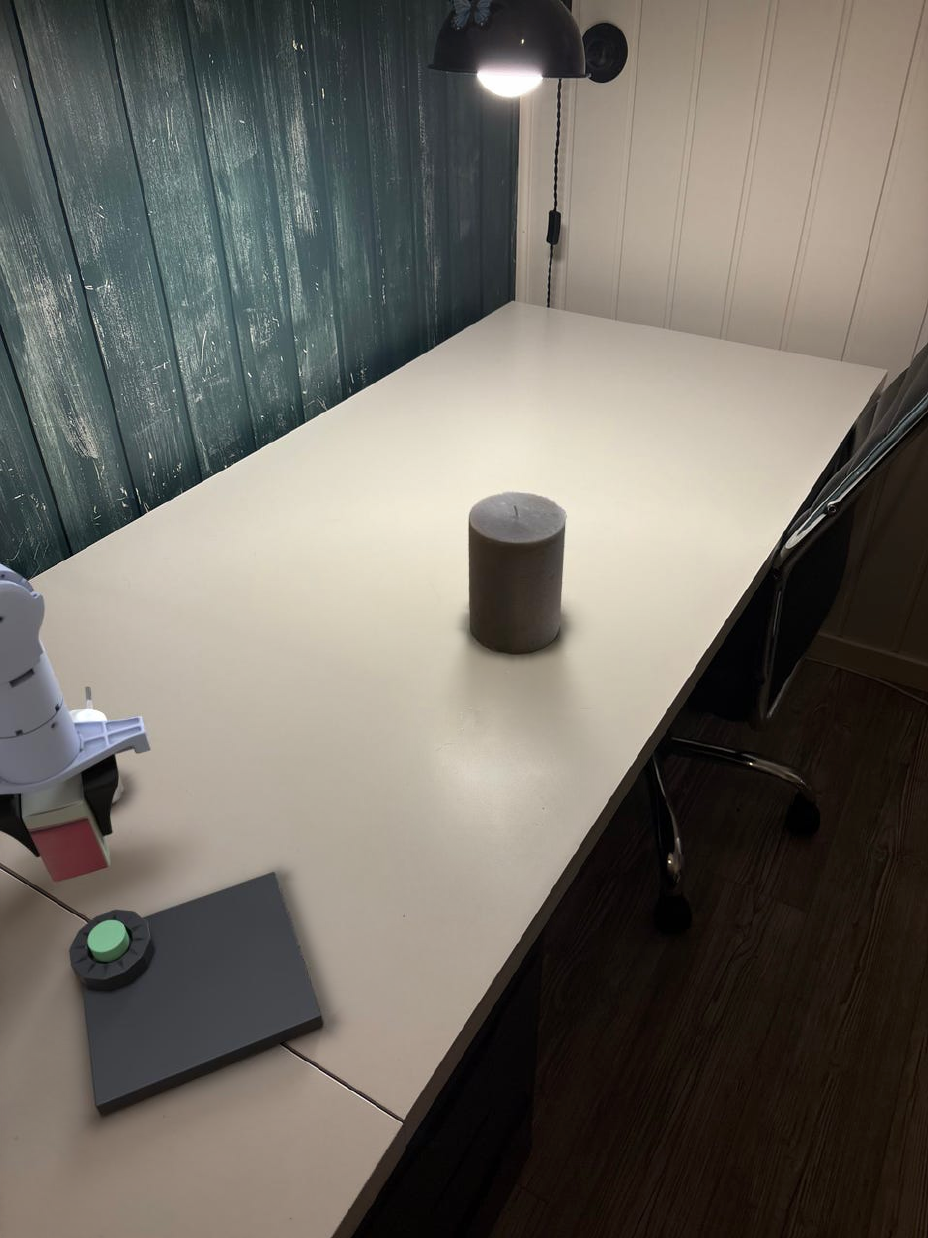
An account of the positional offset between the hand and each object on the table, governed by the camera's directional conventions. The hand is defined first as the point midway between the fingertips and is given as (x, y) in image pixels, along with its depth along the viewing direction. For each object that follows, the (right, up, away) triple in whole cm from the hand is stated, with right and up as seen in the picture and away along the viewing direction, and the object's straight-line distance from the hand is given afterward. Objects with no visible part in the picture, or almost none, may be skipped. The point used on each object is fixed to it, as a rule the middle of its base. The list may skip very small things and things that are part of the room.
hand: (74, 835), depth 71 cm
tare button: (+5, -7, -4) cm, 9 cm away
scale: (+11, -10, -4) cm, 15 cm away
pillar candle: (+35, +16, +28) cm, 48 cm away
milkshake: (-2, +1, +11) cm, 11 cm away
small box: (0, -2, +1) cm, 2 cm away
